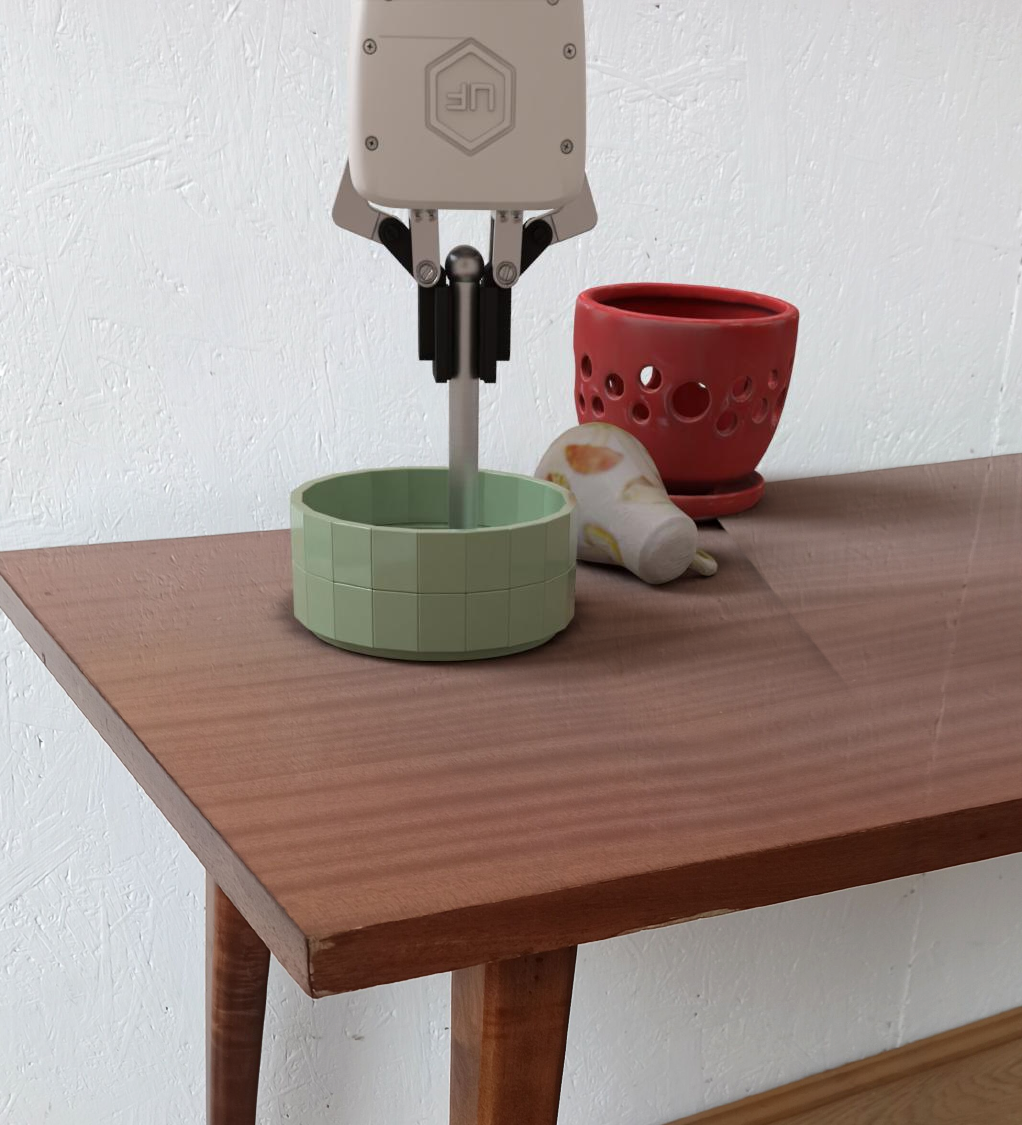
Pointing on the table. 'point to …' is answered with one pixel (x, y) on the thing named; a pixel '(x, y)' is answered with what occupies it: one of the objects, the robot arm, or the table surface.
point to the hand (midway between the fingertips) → (463, 375)
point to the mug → (623, 504)
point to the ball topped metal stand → (464, 385)
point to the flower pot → (688, 382)
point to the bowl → (432, 563)
